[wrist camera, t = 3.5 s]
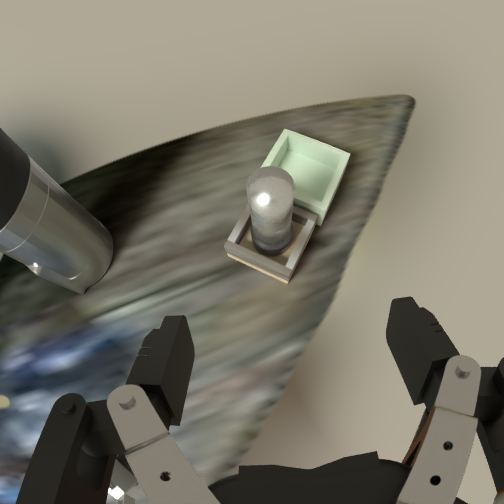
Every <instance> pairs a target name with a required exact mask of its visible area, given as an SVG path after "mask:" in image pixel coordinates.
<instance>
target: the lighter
mask: <svg viewBox="0 0 504 504" xmlns="http://www.w3.org/2000/svg"><path fill="white" fill-rule="evenodd" d="M137 483H138V481H137V479H136V477H135V476H134V475H132V474H131V473H130V472H129V471H128V470H127V469H126V468H125V467H124V466H123V465H122V464H121V463H120V462H119V461H118V460H117V459H116V460H115V464H114V468H113V473H112V477H111V481H110V486H109V490H108V493H110V494H111V495H112V496H114V497H115V498H116V499H117V504H135V499H134V498H132V497H130V496H128V495H126V494H125V493H126V492H128V491H129V490H130V489H131V488H133V487H134V486H135V485H136V484H137Z"/></svg>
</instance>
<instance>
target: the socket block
mask: <svg viewBox="0 0 504 504" xmlns="http://www.w3.org/2000/svg"><path fill="white" fill-rule="evenodd" d="M317 217H318V216H317V215H314V214H312V213H310V212H308V211H305V210H303V209H301V208H298V207H296V206H294V205H293V209H292V218H291V222H292V225H293V235H292V242H291V245H290V247H289V249H288V250H287V251H286V252H285V253H283V254H281V255H279V256H275V257H269V256H265V255H262V254H261V253H259V252H258V251H257V250H256V249H255V247H254V245H253V242H252V237H251V231H250V227H251V223H252V220H251V214H250V208H249V203H248V205H247V207H246V208H245V210H244V212H243V214H242V215H241V217H240V219H239V221H238V222H237V224H236V226H235V228H234V229H233V231H232V233H231V235H230V236H229V238H228V240H227V242H226V243H225V245H224V248H225V250H226V252H227V254H228V256H229V257H231V258H233V259H235V260H238V261H240V262H242V263H244V264H246V265H248V266H250V267H252V268H254V269H257V270H259V271H261V272H263V273H265V274H267V275H269V276H271V277H274V278H276V279H278V280H280V281H282V282H284V283H286V284H288V282H289V280H290V278H291V276H292V274H293V272H294V270H295V268H296V266H297V264H298V262H299V260H300V258H301V255H302V253H303V251H304V249H305V247H306V245H307V243H308V241H309V238H310V236H311V234H312V232H313V230H314V228H315V224H316V221H317Z"/></svg>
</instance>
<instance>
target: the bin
mask: <svg viewBox="0 0 504 504" xmlns="http://www.w3.org/2000/svg"><path fill="white" fill-rule="evenodd" d="M349 157H350V153H347V152H345V151H342V150H340V149H338V148H335V147H333V146H330V145H328V144H325V143H322V142H320V141H317V140H315V139H312V138H309V137H307V136H304V135H301V134H298V133H296V132H293V131H290V130H287V129H284V131H283V132H282V134H281V135H280V137H279V139H278V140H277V142H276V144H275V145H274V147H273V148H272V150H271V152H270V153H269V155H268V157H267V158H266V160H265V162H264V163H263V165H262V167H267V166H274V167H279V168H282V169H284V170H285V171H287V172H288V173H289V174H290V175H291V177H292V178H293V180H294V184H295V190H294V200H293V205H294V206H296V207H298V208H301V209H303V210H305V211H308V212H310V213H312V214H314V215H317V216H318V217H317V221H316V225H319V226H321V225H322V222H323V220H324V218H325V216H326V214H327V211H328V209H329V207H330V205H331V202H332V200H333V198H334V195H335V193H336V191H337V188H338V186H339V184H340V181H341V179H342V177H343V174H344V172H345V169H346V166H347V163H348V160H349ZM262 167H261V168H262Z"/></svg>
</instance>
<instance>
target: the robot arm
mask: <svg viewBox="0 0 504 504" xmlns="http://www.w3.org/2000/svg"><path fill="white" fill-rule="evenodd" d="M0 252H2V253H4V254H6V255H8V256H10V257H12V258H14V259H16V260H17V261H19V262H21V263H23V264H25V265H26V266H27V267H28V268H29V269H31V270H32V271H33V272H34V273H35V274H36V275H38V276H40V277H42V278H45V279H47V280H49V281H51V282H54V283H56V284H58V285H61V286H63V287H65V288H68V289H70V290H73V291H75V292H78V293H80V294H84V292H85V290H86V289H87V288H88V287H89V286H91V285H93V284H95V283H96V282H97V281H98V280H100V279H101V278H102V276H103V275H104V274H105V273H106V271H107V269H108V267H109V265H110V263H111V260H112V256H113V240H112V236H111V234H110V232H109V231H108V229H107V228H106V227H105V226H104V225H103V224H102V223H101V222H100V221H99V220H97V219H96V218H95V217H93V216H92V215H91V214H90V213H89V212H88V211H87V210H86V209H84V208H83V207H82V206H81V205H80V204H79V203H78V202H77V201H76V200H74V199H73V198H72V197H71V196H70V195H69V194H68V193H67V192H66V191H65V190H64V189H62V188H61V187H60V186H59V185H58V184H57V183H56V182H55V181H54V180H53V179H52V178H51V177H50V176H49V175H48V174H47V173H46V172H44V171H43V170H42V169H41V168H40V167H39V166H38V165H37V164H36V163H35V162H34V161H33V160H32V159H31V158H30V157H29V156H28V155H27V154H26V153H25V152H24V151H23V150H22V149H21V148H20V147H19V146H18V145H17V144H15V142H13V140H11V138H9V136H7V134H6V133H4V131H3V130H2V129H1V128H0ZM386 339H387V343H388V346H389V348H390V350H391V352H392V354H393V357H394V359H395V361H396V364H397V366H398V368H399V370H400V373H401V375H402V377H403V380H404V382H405V384H406V387H407V389H408V392H409V394H410V396H411V399H412V401H413V404H414V405H417V404H421V403H425V406H426V409H425V411H424V413H423V416H422V419H421V421H420V424H419V426H418V429H417V431H416V434H415V436H414V438H413V441H412V443H411V445H410V448H409V450H408V452H407V454H406V456H405V457H404V459H403V461H402V463H399V462H396V461H392V460H385V459H379V458H378V454H377V451H375V452H370V453H365V454H360V455H354V456H349V457H344V458H341V459H339V460H336V461H334V462H331V463H328V464H325V465H322V466H320V467H317V468H314V469H300V468H292V467H284V466H278V465H256V466H255V465H252V466H239V474H235V475H231V476H228V477H225V478H223V479H220V480H218V481H216V482H215V483H213V484H211V485H210V486H208V487H207V486H206V485H205V483H204V482H203V481H202V479H201V478H200V477H199V475H198V474H197V473H196V471H195V470H194V468H193V467H192V466H191V464H190V463H189V461H188V460H187V459H186V457H185V456H184V454H183V453H182V451H181V450H180V448H179V447H178V445H177V444H176V442H175V441H174V439H173V438H172V436H171V435H170V433H169V432H168V431H169V427H170V425H175V426H180V422H181V417H182V413H183V408H184V403H185V399H186V394H187V390H188V385H189V380H190V376H191V372H192V367H193V363H194V356H195V352H194V345H193V341H192V337H191V334H190V330H189V326H188V323H187V319H186V317H185V316H184V315H181V316H165V317H164V320H163V322H162V325H161V327H160V329H153V330H152V331H151V332H150V333H149V334H148V335H147V336H146V337H145V339H144V341H143V343H142V346H141V349H140V350H139V353H138V357H137V358H136V360H135V362H134V365H133V367H132V370H131V372H130V374H129V377H128V379H127V382H126V384H125V385H123V386H120V387H118V388H116V389H115V390H114V391H113V392H112V393H111V394H110V395H109V397H108V399H106V400H101V401H94V402H86V401H85V399H84V398H83V397H82V396H81V395H79V394H76V393H69V394H66V395H63V396H62V397H60V398H59V399H58V400H57V401H56V402H55V404H54V405H53V408H52V410H51V412H50V414H49V416H48V419H47V421H46V423H45V426H44V428H43V430H42V433H41V435H40V438H39V440H38V442H37V445H36V447H35V450H34V453H33V455H32V458H31V460H30V463H29V466H28V468H27V471H26V474H25V477H24V480H23V483H22V486H21V489H20V492H19V495H18V498H17V501H16V504H106V500H107V495H108V490H109V486H110V481H111V477H112V473H113V468H114V464H115V460H116V456H117V455H118V454H125V457H126V459H127V461H128V463H129V465H130V467H131V469H132V471H133V473H134V475H135V477H136V479H137V481H138V483H139V485H140V487H141V488H142V490H143V492H144V494H145V496H146V497H147V499H148V501H149V503H150V504H468V503H466V502H464V501H462V500H461V499H459V498H457V497H456V495H457V493H458V490H459V487H460V484H461V481H462V478H463V475H464V472H465V469H466V466H467V462H468V459H469V456H470V452H471V448H472V445H473V441H474V436H475V433H476V432H477V434H478V437H479V439H480V442H481V445H482V447H483V450H484V453H485V456H486V459H487V462H488V465H489V468H490V471H491V474H492V477H493V480H494V484H495V487H496V490H497V495H496V497H495V499H494V503H493V504H504V358H502V359H501V361H500V363H499V365H498V366H497V367H480V366H479V364H478V363H477V362H476V361H475V360H474V359H472V358H470V357H468V356H464V355H460V354H459V352H458V351H457V349H456V348H455V346H454V344H453V343H452V342H451V340H450V339H449V337H448V335H447V334H446V332H445V331H444V330H443V328H442V326H441V325H440V324H439V322H438V321H437V319H436V318H435V316H434V315H433V314H432V313H431V312H429V311H428V310H427V309H425V308H423V307H422V308H419V306H418V305H417V304H416V302H415V300H414V299H413V298H412V297H404V298H397V299H393V300H392V303H391V308H390V313H389V318H388V323H387V328H386Z"/></svg>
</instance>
